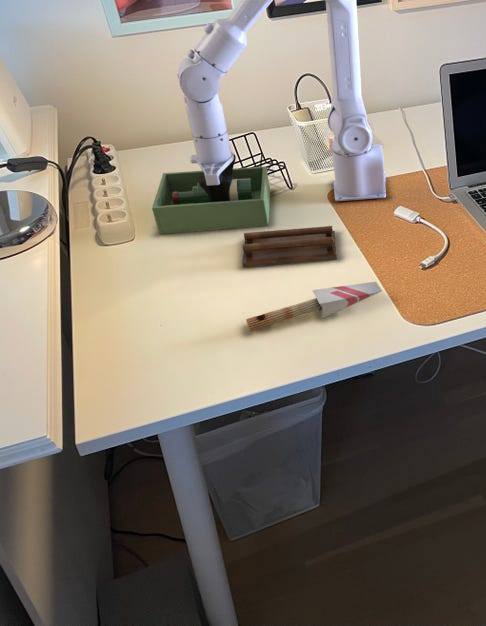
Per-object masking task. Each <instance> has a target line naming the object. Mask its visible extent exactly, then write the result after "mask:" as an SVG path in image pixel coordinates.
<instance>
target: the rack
mask: <svg viewBox="0 0 486 626" xmlns="http://www.w3.org/2000/svg"><path fill="white" fill-rule="evenodd" d="M243 239H244V243H243V244H242V251H243V254H242V268H252V267H253V268H255V267H265V266H276V265H287V264H299V263H311V262H320V261H334V260H337V259H338V251H337V241H336V240H337V237H336V230H333V226H332V225H327V226H325V225H324V226H313V227H300V228H299V227H298V228H288V229H275V230H263V231H252V232H251V231H250V232H243Z"/></svg>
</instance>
